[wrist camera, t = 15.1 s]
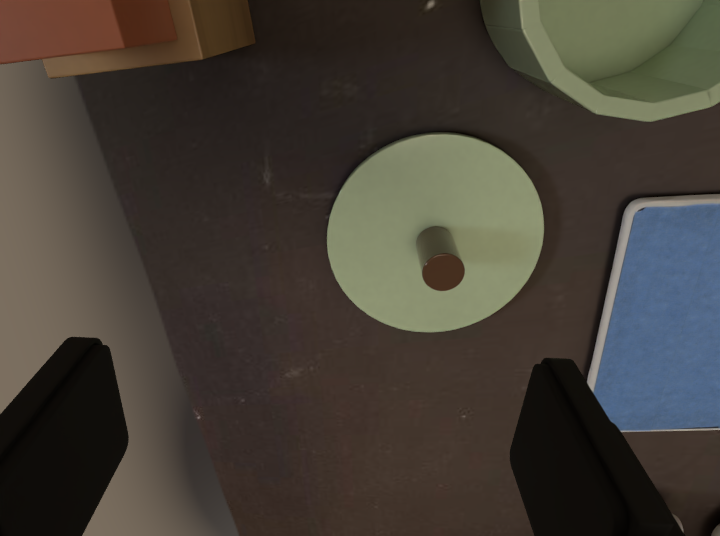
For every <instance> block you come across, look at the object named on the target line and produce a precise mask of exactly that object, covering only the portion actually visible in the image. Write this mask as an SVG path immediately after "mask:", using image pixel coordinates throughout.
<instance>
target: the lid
mask: <svg viewBox="0 0 720 536" xmlns="http://www.w3.org/2000/svg"><path fill="white" fill-rule="evenodd" d="M543 236H544V216H543V210H542V205H541V202H540V199H539V196H538V193H537V191H536V189H535V187H534V185H533V183H532V181H531V179H530V178H529V177H528V175H527V174H526V172H525V171H524V170H523V169H522V168H521V167H520V166H519V165H518V164H517V162H516V161H515V160H514V159H513V158H512V157H510V156H509V155H508V154H506V153H505V152H504V151H502V150H501V149H500V148H498V147H496V146H494V145H492V144H490V143H489V142H487V141H484V140H481V139H479V138H476V137H473V136H469V135H464V134H459V133H449V132H434V133H424V134H419V135H413V136H410V137H407V138H403V139H400V140H397V141H395V142H393V143H391V144H389V145H387V146H385V147H383V148H381V149H380V150H378V151H376V152H375V153H373V154H372V155H370V156H369V157H368V158H367V159H366V160H364V161H363V162H362V163H361V164H360V165H359V166H358V167H357V168H356V169H355V170H354V171H353V172H352V173H351V174H350V176H349V177H348V178H347V180H346V181H345V183H344V184H343V186H342V187H341V189H340V191H339V193H338V195H337V197H336V199H335V201H334V204H333V207H332V210H331V213H330V217H329V223H328V228H327V249H328V256H329V261H330V265H331V268H332V270H333V273H334V275H335V278H336V280H337V281H338V283H339V285H340V287H341V288H342V290H343V291H344V292H345V294H346V295H347V296H348V298H349V299H350V300H351V301H352V302H353V303H354V304H355V305H356V306H357V307H359V308H360V309H361V310H362V311H364V312H365V313H366V314H368V315H369V316H371V317H373V318H375V319H376V320H378V321H380V322H382V323H385V324H387V325H389V326H393V327H396V328H399V329H403V330H409V331H414V332H442V331H449V330H454V329H458V328H462V327H466V326H468V325H471V324H473V323H476V322H478V321H480V320H482V319H484V318H486V317H488V316H490V315H492V314H493V313H495V312H496V311H498V310H499V309H501V308H502V307H503V306H504V305H505V304H507V303H508V302H509V301H510V300H511V299H512V298H513V297H514V296H515V295H516V294H517V293H518V292H519V291H520V290H521V288H522V287H523V286H524V284H525V283H526V282H527V280H528V279H529V277H530V275H531V273H532V272H533V270H534V268H535V266H536V263H537V261H538V258H539V255H540V252H541V248H542V244H543Z"/></svg>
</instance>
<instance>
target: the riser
mask: <svg viewBox="0 0 720 536" xmlns="http://www.w3.org/2000/svg"><path fill="white" fill-rule="evenodd" d="M168 4H169V8H170V12H171V16H172V20H173V24H174V27H175V31H176V35H177V40H174V41H168V42H162V43H156V44H150V45H143V46H137V47H131V48H125V49H117V50H109V51H101V52H94V53H86V54H78V55H70V56H62V57H54V58H47V59H42V61H43V64H44V67H45V69H46V72H47V75H48V77H49V78H60V77H68V76H76V75H84V74H92V73H100V72H108V71H116V70H124V69H132V68H140V67H148V66H156V65H164V64H172V63H180V62H188V61H196V60H203V59H206V58H209V57H213V56H216V55H219V54H223V53H226V52H229V51H232V50H236V49H239V48H242V47H245V46H249V45H252V44H255V43H256V41H255V36H254V31H253V25H252V20H251V15H250V10H249V5H248V0H168Z"/></svg>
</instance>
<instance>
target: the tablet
mask: <svg viewBox="0 0 720 536" xmlns="http://www.w3.org/2000/svg"><path fill="white" fill-rule="evenodd" d="M587 384H588V385H589V387H590V389H591V390H592V392H593V393H594V395H595V397H596V398H597V400H598V402H599V403H600V405H601V406H602V408H603V410H604V411H605V413H606V415H607V416H608V418H609V419H610V421H611V422H613V423H614V424H615V425H616V426H617V427H618V428H619V430H620V431H621V432H642V431H689V430H720V194H705V195H683V196H665V197H646V198H639V199H635V200H634V201H632V202H630V203H629V204H628V206H627V207H626V209H625V211H624V214H623V217H622V223H621V228H620V233H619V238H618V242H617V247H616V252H615V257H614V261H613V266H612V271H611V275H610V280H609V285H608V289H607V294H606V298H605V303H604V308H603V312H602V317H601V321H600V326H599V330H598V335H597V340H596V344H595V349H594V353H593V358H592V362H591V367H590V370H589V373H588V379H587Z"/></svg>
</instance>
